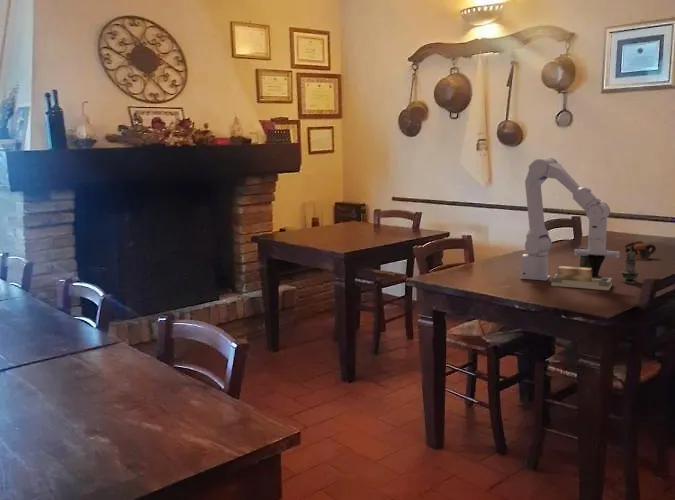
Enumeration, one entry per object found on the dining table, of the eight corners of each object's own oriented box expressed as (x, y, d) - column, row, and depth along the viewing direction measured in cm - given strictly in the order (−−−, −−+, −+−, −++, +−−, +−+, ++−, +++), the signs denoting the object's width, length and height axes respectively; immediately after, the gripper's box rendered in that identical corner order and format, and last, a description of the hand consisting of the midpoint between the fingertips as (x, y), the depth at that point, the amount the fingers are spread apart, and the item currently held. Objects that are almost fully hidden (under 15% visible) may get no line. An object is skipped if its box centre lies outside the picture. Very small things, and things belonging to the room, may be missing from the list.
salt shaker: (640, 283, 237) (642, 250, 235) (622, 283, 238) (624, 250, 236) (636, 280, 243) (638, 247, 241) (619, 279, 244) (620, 247, 242)
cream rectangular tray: (551, 285, 238) (551, 278, 237) (556, 280, 245) (556, 273, 245) (608, 290, 229) (609, 282, 228) (612, 284, 236) (612, 277, 236)
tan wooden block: (557, 281, 239) (558, 267, 238) (559, 279, 242) (559, 265, 241) (590, 284, 234) (590, 270, 233) (591, 282, 237) (592, 268, 236)
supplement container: (592, 277, 249) (593, 249, 247) (575, 275, 254) (576, 247, 252) (601, 274, 253) (602, 247, 252) (584, 272, 258) (585, 245, 257)
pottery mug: (629, 261, 280) (623, 243, 283) (627, 267, 289) (622, 249, 291) (660, 254, 277) (654, 236, 280) (657, 260, 286) (651, 243, 288)
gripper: (621, 237, 232) (619, 276, 234) (577, 235, 239) (575, 273, 241) (618, 240, 226) (617, 280, 228) (573, 238, 233) (572, 276, 235)
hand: (595, 276), depth 234 cm, fingers closed
